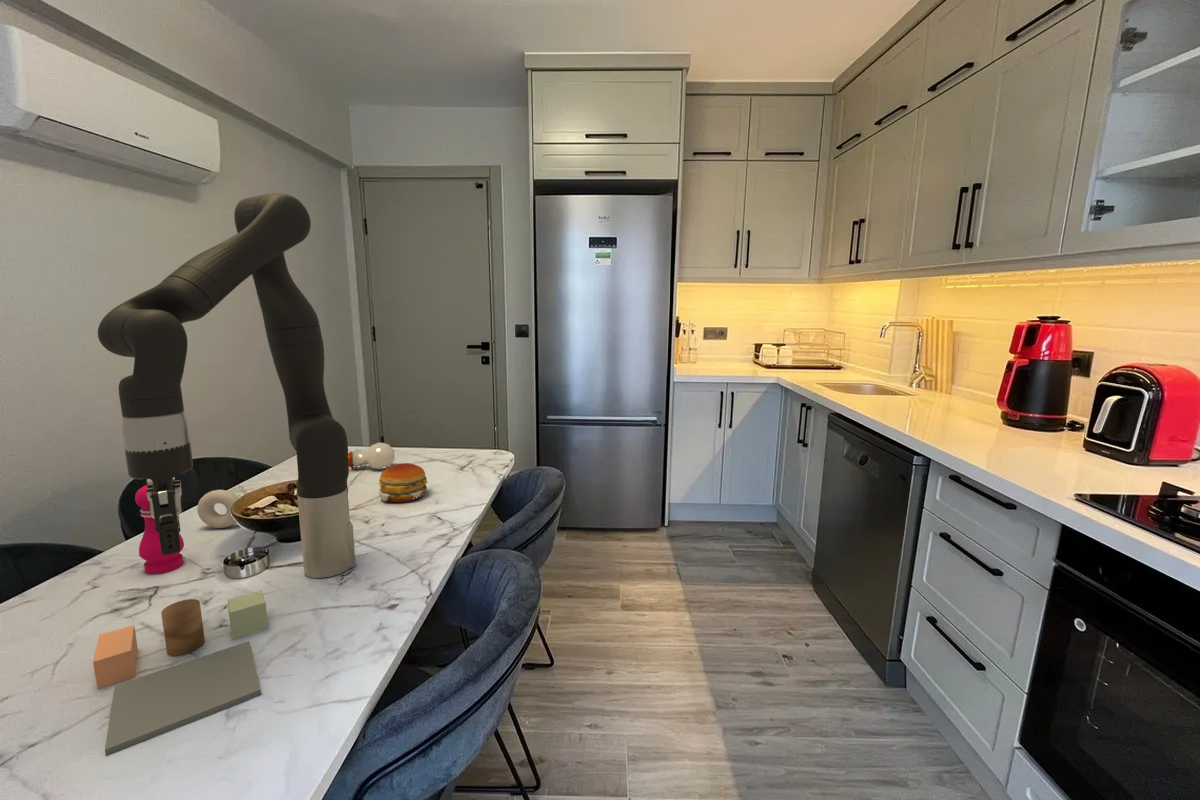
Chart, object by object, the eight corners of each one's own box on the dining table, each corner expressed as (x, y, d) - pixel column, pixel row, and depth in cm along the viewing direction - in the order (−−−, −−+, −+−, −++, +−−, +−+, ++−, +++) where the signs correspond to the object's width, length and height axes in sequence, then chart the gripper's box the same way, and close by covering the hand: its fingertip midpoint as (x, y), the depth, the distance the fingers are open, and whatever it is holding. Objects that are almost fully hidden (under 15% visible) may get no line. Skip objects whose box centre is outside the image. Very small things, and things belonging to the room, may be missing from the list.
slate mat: (249, 645, 83) (249, 640, 82) (261, 694, 72) (260, 689, 72) (115, 690, 72) (114, 685, 72) (105, 755, 62) (104, 749, 62)
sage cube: (264, 615, 91) (261, 589, 90) (268, 628, 87) (265, 602, 86) (230, 625, 88) (227, 599, 87) (233, 640, 84) (229, 612, 83)
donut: (196, 531, 125) (191, 493, 123) (205, 525, 128) (200, 488, 126) (240, 529, 126) (236, 491, 125) (248, 523, 130) (243, 486, 128)
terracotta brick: (103, 660, 79) (99, 634, 78) (138, 650, 81) (134, 624, 81) (97, 689, 73) (93, 661, 72) (135, 677, 75) (130, 650, 75)
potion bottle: (396, 473, 176) (352, 479, 175) (400, 451, 183) (358, 457, 182) (388, 457, 170) (342, 463, 168) (392, 435, 176) (348, 440, 175)
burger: (437, 495, 152) (435, 463, 150) (398, 509, 141) (396, 474, 139) (408, 486, 159) (406, 456, 157) (369, 499, 148) (366, 466, 146)
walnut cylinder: (204, 633, 85) (199, 595, 84) (205, 648, 82) (200, 608, 81) (167, 645, 82) (161, 606, 81) (166, 660, 79) (160, 619, 78)
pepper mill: (160, 577, 103) (147, 483, 100) (132, 573, 105) (118, 481, 101) (195, 560, 110) (183, 473, 107) (168, 557, 112) (156, 470, 108)
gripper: (190, 448, 73) (204, 552, 76) (188, 431, 84) (200, 522, 87) (120, 457, 69) (137, 568, 71) (127, 437, 79) (141, 534, 82)
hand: (171, 543), depth 79 cm, fingers open, 8 cm apart
